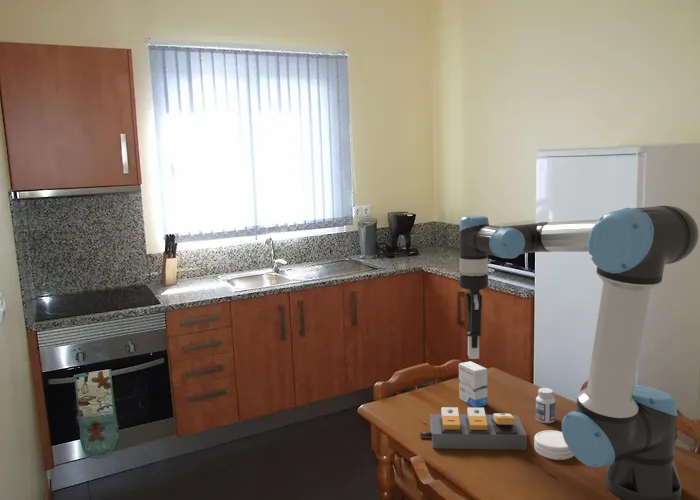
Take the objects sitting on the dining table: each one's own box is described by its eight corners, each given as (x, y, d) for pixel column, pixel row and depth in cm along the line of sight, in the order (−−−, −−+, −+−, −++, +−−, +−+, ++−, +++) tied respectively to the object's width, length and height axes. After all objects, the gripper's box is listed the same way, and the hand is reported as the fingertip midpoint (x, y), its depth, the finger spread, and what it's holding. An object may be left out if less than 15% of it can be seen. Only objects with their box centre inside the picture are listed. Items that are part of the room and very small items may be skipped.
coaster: (562, 440, 155) (562, 427, 154) (583, 458, 145) (583, 445, 145) (527, 443, 153) (527, 431, 153) (545, 462, 144) (545, 449, 143)
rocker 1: (460, 429, 152) (460, 424, 151) (443, 429, 152) (443, 424, 152) (457, 412, 158) (457, 407, 158) (441, 411, 159) (441, 407, 158)
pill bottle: (552, 415, 169) (553, 386, 168) (556, 423, 164) (557, 393, 163) (533, 415, 170) (534, 386, 168) (537, 423, 164) (538, 393, 163)
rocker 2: (487, 430, 151) (487, 424, 151) (470, 429, 152) (470, 424, 151) (483, 412, 158) (483, 407, 157) (467, 412, 158) (467, 407, 157)
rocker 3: (515, 424, 150) (514, 417, 150) (497, 424, 150) (497, 417, 150) (510, 419, 157) (509, 413, 157) (493, 419, 157) (493, 413, 157)
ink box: (488, 405, 177) (488, 368, 176) (474, 408, 175) (474, 371, 174) (471, 395, 185) (471, 360, 183) (457, 398, 183) (457, 362, 181)
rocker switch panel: (526, 449, 150) (526, 430, 149) (421, 448, 152) (420, 429, 151) (517, 428, 162) (517, 410, 161) (419, 427, 164) (419, 409, 163)
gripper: (492, 278, 149) (491, 366, 153) (484, 267, 164) (483, 348, 168) (462, 278, 150) (462, 366, 154) (457, 268, 165) (457, 348, 168)
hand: (473, 356), depth 161 cm, fingers open, 2 cm apart
